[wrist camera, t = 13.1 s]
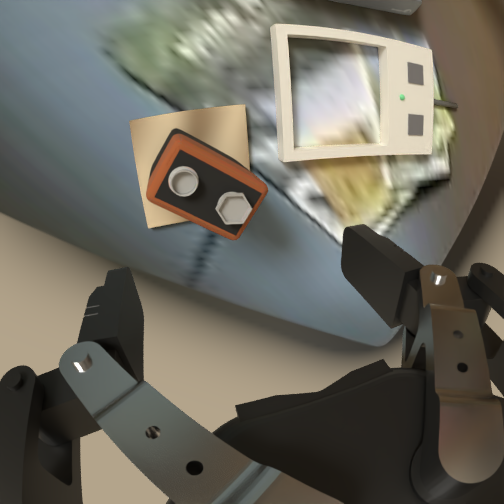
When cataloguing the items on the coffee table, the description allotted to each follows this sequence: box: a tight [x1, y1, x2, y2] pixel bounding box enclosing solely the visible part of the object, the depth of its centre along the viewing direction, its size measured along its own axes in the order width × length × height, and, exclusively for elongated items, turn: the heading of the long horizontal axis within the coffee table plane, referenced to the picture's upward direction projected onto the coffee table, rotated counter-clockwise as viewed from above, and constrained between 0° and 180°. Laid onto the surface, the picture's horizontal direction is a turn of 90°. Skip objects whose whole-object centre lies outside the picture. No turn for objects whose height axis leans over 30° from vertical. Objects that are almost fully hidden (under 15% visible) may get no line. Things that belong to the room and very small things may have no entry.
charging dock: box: [270, 24, 458, 162], centre depth 27 cm, size 26×13×2 cm, turn 94°
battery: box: [146, 128, 268, 240], centre depth 22 cm, size 4×7×10 cm, turn 57°
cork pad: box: [129, 104, 250, 228], centre depth 26 cm, size 10×10×1 cm
